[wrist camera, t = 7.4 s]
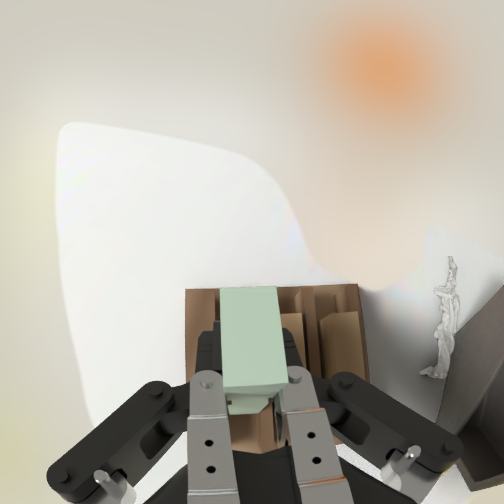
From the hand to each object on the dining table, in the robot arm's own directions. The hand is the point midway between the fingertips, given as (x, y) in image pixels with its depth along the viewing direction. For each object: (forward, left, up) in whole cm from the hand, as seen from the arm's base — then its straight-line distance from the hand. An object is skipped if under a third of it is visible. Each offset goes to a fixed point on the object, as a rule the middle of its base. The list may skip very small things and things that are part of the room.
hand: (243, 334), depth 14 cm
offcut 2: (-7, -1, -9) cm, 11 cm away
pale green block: (-1, +3, -7) cm, 7 cm away
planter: (-25, -1, -10) cm, 27 cm away
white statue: (-19, -9, -10) cm, 24 cm away
